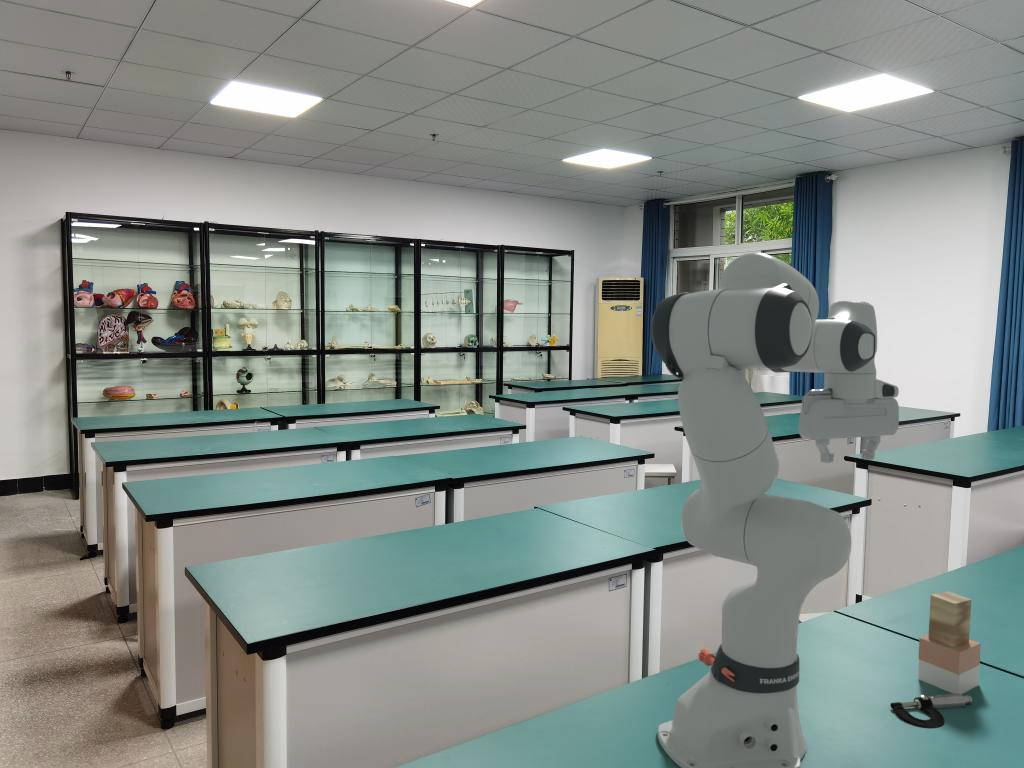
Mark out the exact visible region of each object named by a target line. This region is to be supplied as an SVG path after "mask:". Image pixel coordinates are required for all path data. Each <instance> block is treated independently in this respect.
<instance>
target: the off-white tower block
mask: <svg viewBox="0 0 1024 768" xmlns="http://www.w3.org/2000/svg"><path fill="white" fill-rule="evenodd" d="M980 667H981V664H980V665H978V666H976V667H974V668H972V669H970V670H968V671H966V672H964V673H962V674H959V675H958V674H955V673H953V672H950V671H948V670H945V669H943V668H940V667H938V666H935V665H932V664H930V663H927V662H925V661H922V660H920V659H919V658H918V674H917V675H918V679H917V680H919V681H921V682H924V683H926V684H929V685H931V686H933V687H936V688H938V689H941V690H943V691H946V692H949V693H951V694H958V693H959V694H961V695H963V694H965V693H967V692H969V691H971V690H972V689H974V688H976V687H978V686H980V673H981V672H980V671H981V668H980Z"/></svg>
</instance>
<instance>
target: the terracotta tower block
mask: <svg viewBox="0 0 1024 768" xmlns="http://www.w3.org/2000/svg"><path fill="white" fill-rule="evenodd" d="M918 639H919V641H918V660H919V659H920V660H922V661H925V662H927V663H930V664H932V665H935V666H938V667H940V668H943V669H945V670H948V671H950V672H953V673H955V674H958V675H959V674H962V673H964V672H966V671H968V670H970V669H972V668H974V667H976V666H978V665H980V666H981V664H980V661H981V642H978V641H975V640H972V639H970V638H969V643H968V644H964V645H960V646H956V647H953V648H952V647H950V646H947V645H945V644H943V643H940V642H938V641H936V640H933V639H931V638H929V633H928V634H926V635H925V634H924V635H923V636H920V637H919V638H918Z"/></svg>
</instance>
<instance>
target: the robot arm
mask: <svg viewBox="0 0 1024 768" xmlns="http://www.w3.org/2000/svg"><path fill="white" fill-rule="evenodd" d="M718 288H719V289H710V290H709V289H708V290H702V291H697V292H691V293H690V292H689V291H687V292H686V291H685V292H679V293H676V294H673V295H670V296H668V297H665V298H664V299H662V300H661V301H660V302H659V303H658V304H657V306H656V308H655V310H654V311H653V312H654V313H653V315H652V318H651V321H650V337H651V339H650V340H651V342H652V345H653V348H654V349H655V351H656V353H657V355H658V357H659V359H660V360H661V361H662V362H663V363H664V364H665V365H664V366H665V368H666V369H667V370H668V372H669V373H670V374H671V375H672V376H674V377H675V378H678V379H680V380H682V381H681V382H680V384H679V387H678V390H677V401H678V409H679V415H680V420H681V423H682V429H683V432H684V434H685V435H684V436H685V438H686V441H687V444H688V448H689V449H690V452H691V454H692V457H693V461H694V463H695V466H696V469H697V472H698V476H699V479H700V485H701V486H700V487H699V488H698V489H697V488H696V490H694V491H693V492H692V493H691V494H690V495H689V496H688V497H687V498H686V500H685V502H684V504H683V506H682V509H681V514H680V524H681V525H680V526H681V530H682V533H683V535H684V538H685V539H686V541H687V543H689V544H690V545H692V546H693V547H695V548H696V549H699V550H702V551H704V552H706V553H708V554H710V555H712V556H714V557H719V558H723V559H726V560H729V561H734V562H739V563H741V564H742V563H743V564H746V565H747V564H748V565H751V566H755V567H756V572H757V574H756V580H755V582H754V581H753V582H750V583H745V584H743V585H740V586H738V587H736V588H733V589H732V590H731V591H729V593H728V594H727V595H726V596H725V598H724V600H723V602H722V606H721V607H722V608H721V644H719V647H718V649H717V651H716V653H715V655H714V653H711V652H710V651H709V650H708V649H706V648H702V649H701V650H699V652H698V656H697V657H698V660H699V661H700V662H702V663H704V665H705V666H707V667H710V671H709V672H707V674H705V675H704V676H703V677H702V678H700V679H699V680H698V681H697V682H696V683H694V684H693V685H692V686H691V687H690V688H689V689H688V690H686V691H685V692H684V693H682V694H681V695H680V696H679V697H678V698H677V700H676V703H675V706H674V709H673V715H672V720H669V721H666V722H663V723H660V724H659V725H658V729H657V740H658V742H659V744H660V746H661V748H662V749H663V750H664V752H665V753H666V754H667V755H668V757H669V758H670V759H671V760H672V761H673V762H674V763H675V764H677V766H678V767H680V768H802V764H801V760H802V758H803V757H804V756H805V753H806V750H807V744H806V741H805V738H804V734H803V730H802V726H801V719H800V712H799V702H798V689H797V688H798V687H797V686H798V685H799V682H800V657H799V654H798V653H797V650H798V649H797V648H798V633H799V624H800V616H801V610H802V607H803V604H804V602H805V600H806V598H807V597H808V595H809V594H810V593H811V591H812V590H813V589H814V588H815V587H816V586H818V584H820V583H821V582H823V581H825V580H827V579H829V578H832V577H833V576H835V575H836V574H837V573H838V572H840V571H841V570H842V569H843V568H844V567H845V565H846V564H847V562H848V560H849V557H850V555H851V552H852V545H853V543H852V542H853V541H852V535H851V530H850V528H849V525H848V523H847V521H846V520H845V519H844V517H843V516H842V514H841V513H840V512H838V511H836V510H833V509H830V508H828V507H825V506H824V505H820V504H817V503H814V502H812V501H809V500H808V501H807V500H803V499H796V498H790V497H785V496H777V495H774V494H767V493H766V492H767V491H769V490H770V489H771V488H772V487H773V485H774V484H775V483H776V481H777V478H778V475H779V470H780V460H779V458H778V454H777V451H776V448H775V444H774V441H773V439H772V436H771V432H770V430H769V429H770V428H769V426H768V423H767V420H766V417H765V416H766V415H765V414H764V411H763V409H762V407H761V404H760V402H759V400H758V398H757V395H756V394H755V392H754V391H753V388H752V386H751V384H749V382H748V380H747V379H746V377H747V375H746V374H747V371H746V370H751V369H753V370H754V369H765V368H767V369H768V370H769V371H772V372H773V373H795V372H796V373H797V372H798V373H799V372H800V373H820V374H821V373H824V379H823V381H824V382H823V389H822V388H821V389H809V390H808V392H806V393H805V394H804V395H803V397H802V399H801V408H800V413H799V419H798V420H799V421H798V431H797V432H798V434H799V435H800V438H802V439H804V440H805V439H806V440H809V441H814V443H815V446H816V447H817V449H818V451H819V453H820V461H821V463H824V464H829V463H830V464H831V463H833V462H834V453H832V452H830V450H829V448H828V447H829V445H830V441H831V440H835V439H836V440H837V439H851V438H865V437H866V438H865V440H866V441H867V444H866V446H865V448H864V449H861V459H862V460H866V461H871V460H874V459H875V458H876V457H875V456H876V455H875V454H876V452H875V451H876V450H877V449H878V446H879V445H880V442H881V437H883V436H893V435H894V436H895V434H896V432H897V431H898V430H899V422H900V421H899V420H900V419H899V418H900V408H899V402H898V400H897V399H896V398H898V396H899V394H900V393H899V387H898V386H897V385H894V384H891V383H889V382H887V381H884V380H880V379H877V368H876V364H875V358H876V353H877V351H878V326H877V316H876V311H875V308H874V305H872V304H871V303H869V302H866V301H858V300H840V301H837V302H833V303H831V305H830V306H829V310H828V314H827V315H828V316H827V318H826V319H817V318H818V314H819V311H820V299H819V295H818V293H817V290H816V288H815V287H814V285H813V284H812V283H811V281H810V280H808V278H807V277H806V276H805V275H803V274H802V273H801V272H799V271H798V270H797V269H795V267H793V266H791V265H789V264H788V263H787V262H785V261H783V260H782V259H779V258H777V257H775V256H773V255H771V254H770V255H769V254H766V253H763V252H749V253H744V254H741V255H739V256H738V257H736V258H734V259H733V260H732V261H731V262H730V263H729V264H728V265H727V266H726V267H725V269H724V270H723V272H722V274H721V277H720V281H719V287H718Z"/></svg>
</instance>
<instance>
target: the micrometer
mask: <svg viewBox="0 0 1024 768" xmlns="http://www.w3.org/2000/svg"><path fill="white" fill-rule="evenodd" d="M966 704H969V705H971V704H973V698H972V697H971V696H970V695H969V694H967V695H963V694H959V693H958V694H953V693H951V694H938V695H930V696H927V694H920V695H919V696H918V697H915V698H913V701H906V702H900V701H898V702H897V701H895V702H890V708H891V709H892V710H894V712H895V713H896V715H897V717H899V718H898V719H900V720H902V721H904V722H905V723H907V724H909V725H912V726H915V727H919V728H924V729H938V728H940V727H943V726H944V724H945V718H944V716H943V714H942V713H941V712H940V711H939V710H938V709H949V708H957V707H959V708H961V707H965V706H966ZM905 708H916V709H917V708H918V709H919V710H921V711H923V712H924V713H926V714H927V715H928V716H929V717H930V718H929V719H920V718H917V717H915V716H913V715H912V714H911V713H910V712H909V711H908V710H906V709H905Z"/></svg>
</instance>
